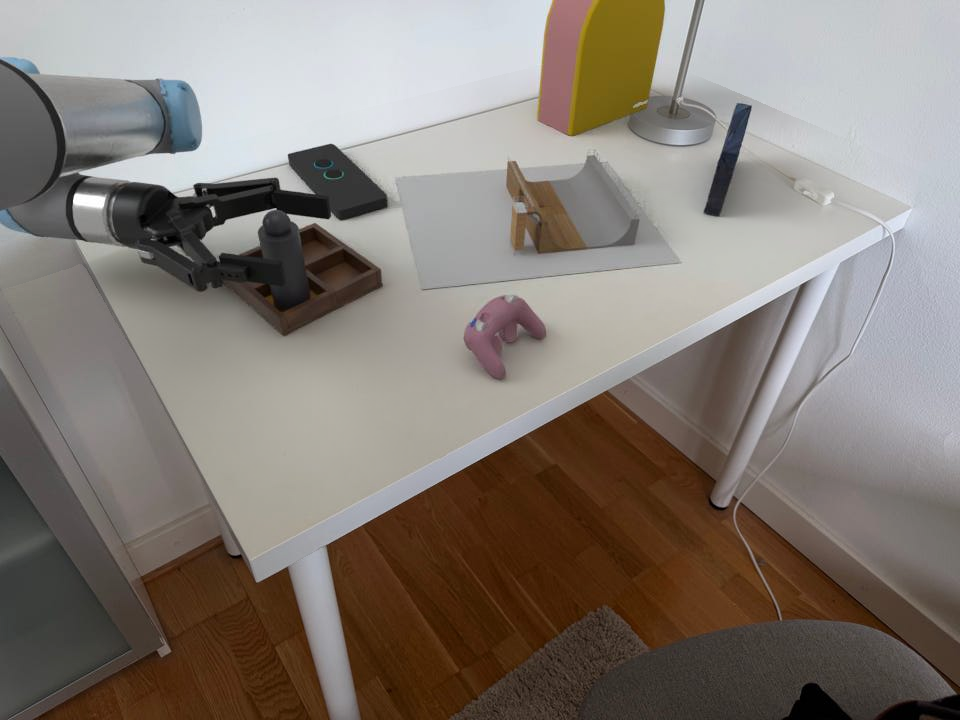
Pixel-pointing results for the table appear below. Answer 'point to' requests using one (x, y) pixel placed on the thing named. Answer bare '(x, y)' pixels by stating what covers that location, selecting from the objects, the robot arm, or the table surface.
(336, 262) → the grid
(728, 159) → the vhs cassette tape
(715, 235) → the table surface
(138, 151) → the robot arm
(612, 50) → the yellow and pink slab
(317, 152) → the smart home device
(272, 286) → the pawn
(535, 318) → the video game controller
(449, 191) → the skate ramp
